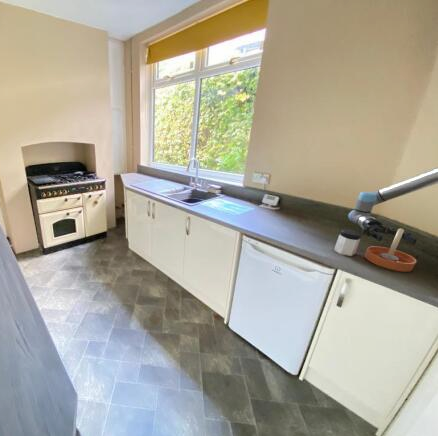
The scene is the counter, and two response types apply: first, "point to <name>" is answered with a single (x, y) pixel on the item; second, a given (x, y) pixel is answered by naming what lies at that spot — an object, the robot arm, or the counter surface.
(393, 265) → the bowl
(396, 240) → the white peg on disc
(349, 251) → the jar
